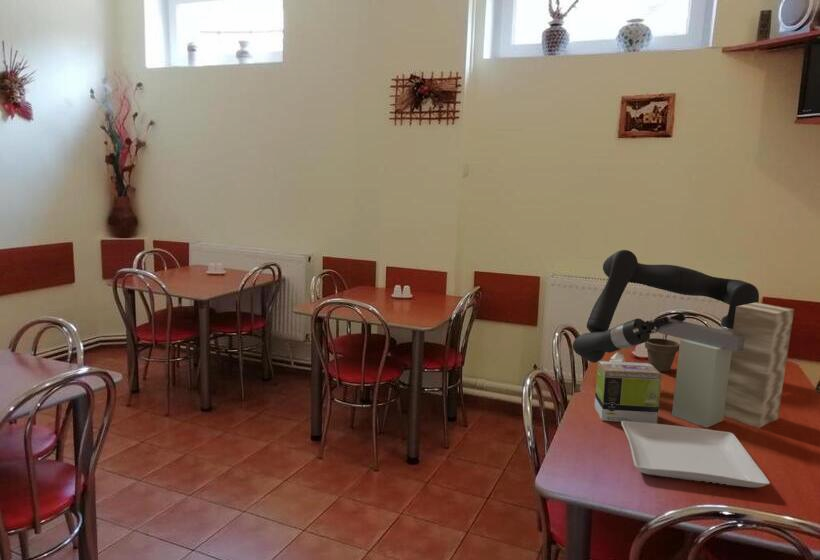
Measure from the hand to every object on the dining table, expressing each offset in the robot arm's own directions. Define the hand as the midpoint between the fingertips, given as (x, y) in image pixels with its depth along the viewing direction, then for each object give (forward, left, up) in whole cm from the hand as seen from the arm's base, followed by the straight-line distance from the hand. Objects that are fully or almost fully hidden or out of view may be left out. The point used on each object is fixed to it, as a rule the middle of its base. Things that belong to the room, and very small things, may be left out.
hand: (676, 318), depth 169 cm
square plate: (+28, +21, -28) cm, 45 cm away
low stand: (0, +9, -27) cm, 29 cm away
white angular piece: (+3, -14, -27) cm, 31 cm away
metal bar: (0, +7, -5) cm, 9 cm away
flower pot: (-33, -22, -27) cm, 48 cm away
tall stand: (-14, +17, -27) cm, 35 cm away
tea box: (+17, -3, -27) cm, 32 cm away
